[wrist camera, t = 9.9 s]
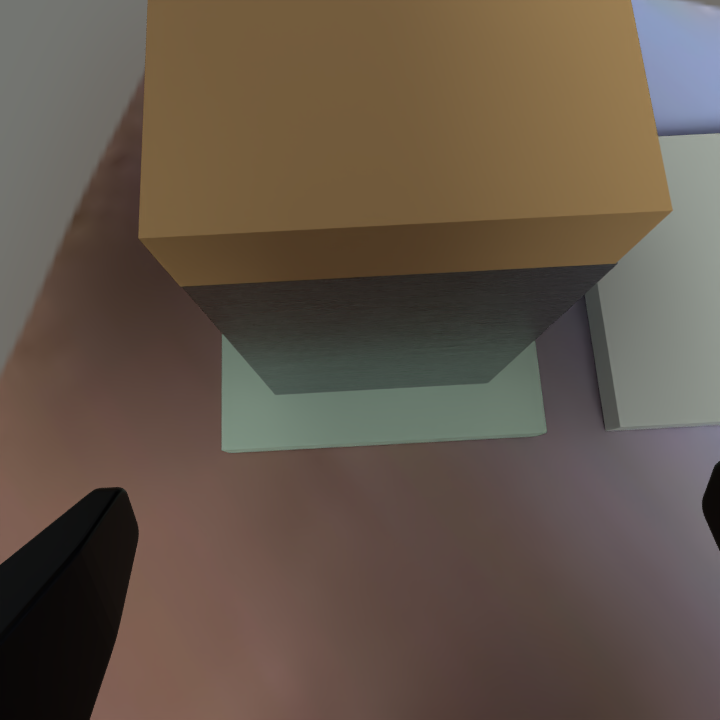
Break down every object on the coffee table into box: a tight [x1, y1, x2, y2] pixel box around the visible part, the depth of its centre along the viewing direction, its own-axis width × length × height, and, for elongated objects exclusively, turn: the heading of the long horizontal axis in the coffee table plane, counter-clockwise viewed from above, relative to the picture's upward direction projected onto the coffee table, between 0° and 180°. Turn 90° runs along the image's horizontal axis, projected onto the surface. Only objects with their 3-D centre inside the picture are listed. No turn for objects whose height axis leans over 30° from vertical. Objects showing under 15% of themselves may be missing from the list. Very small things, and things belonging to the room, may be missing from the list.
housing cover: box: [138, 0, 673, 287], centre depth 9 cm, size 6×6×3 cm
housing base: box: [183, 262, 618, 395], centre depth 13 cm, size 6×6×8 cm
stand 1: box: [222, 334, 547, 453], centre depth 17 cm, size 9×9×1 cm
